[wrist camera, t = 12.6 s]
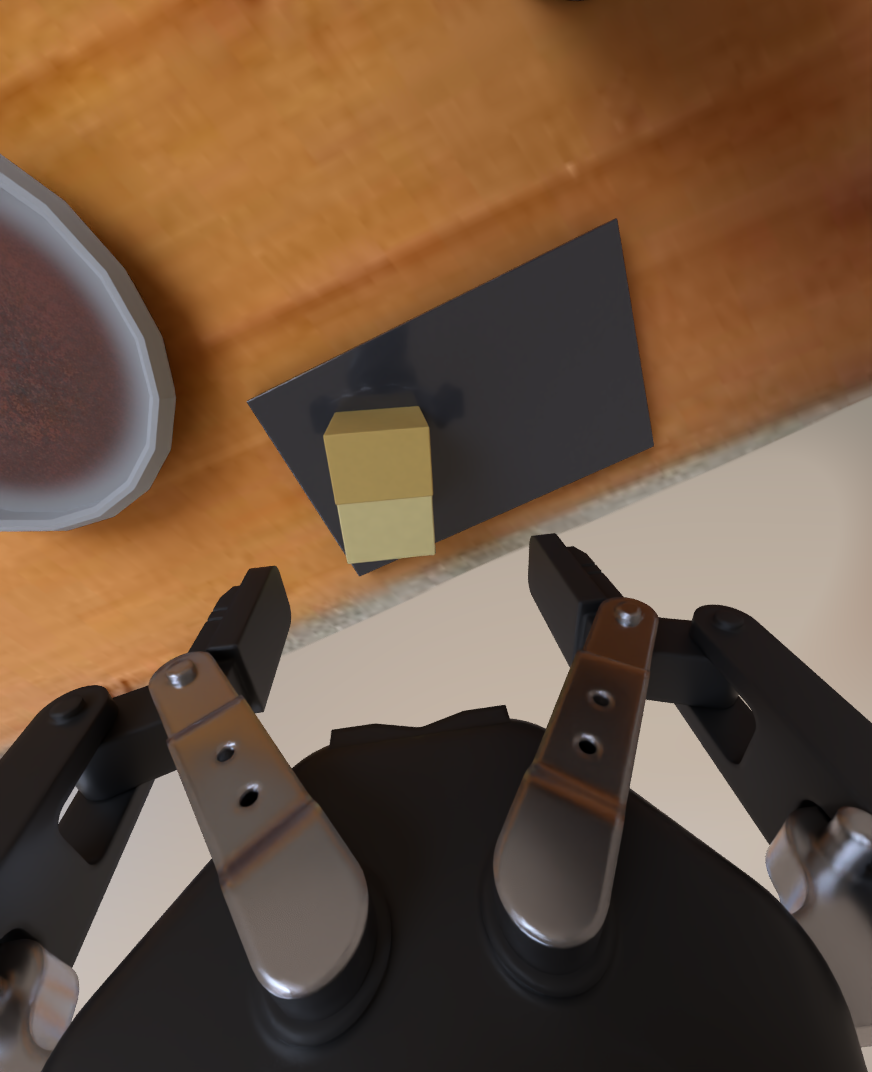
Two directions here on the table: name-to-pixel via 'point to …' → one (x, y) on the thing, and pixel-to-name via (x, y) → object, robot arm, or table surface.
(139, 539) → the table surface
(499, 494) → the slate board
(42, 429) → the frying pan
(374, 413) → the butter
